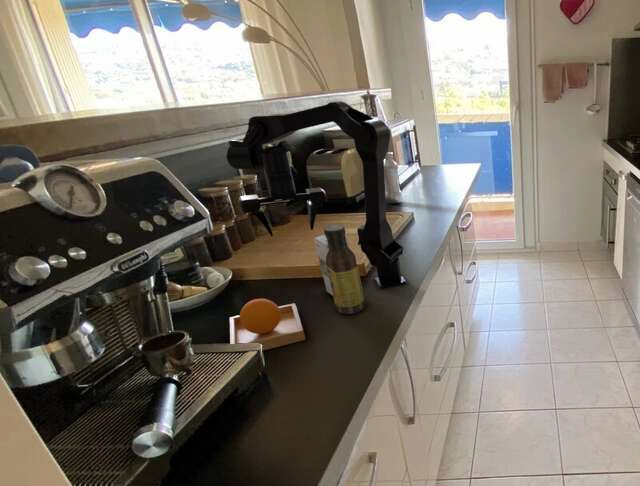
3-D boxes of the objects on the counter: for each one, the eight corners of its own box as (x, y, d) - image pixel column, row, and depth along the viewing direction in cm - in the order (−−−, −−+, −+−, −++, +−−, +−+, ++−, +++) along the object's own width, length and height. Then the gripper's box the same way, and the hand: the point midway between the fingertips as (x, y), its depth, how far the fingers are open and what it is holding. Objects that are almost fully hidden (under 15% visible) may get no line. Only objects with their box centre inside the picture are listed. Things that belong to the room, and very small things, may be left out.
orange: (288, 332, 92) (275, 305, 88) (249, 346, 89) (234, 318, 85) (283, 314, 97) (271, 287, 93) (246, 326, 94) (232, 299, 90)
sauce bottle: (342, 302, 106) (326, 221, 97) (369, 302, 106) (355, 222, 97) (331, 315, 100) (313, 231, 91) (359, 316, 100) (343, 231, 91)
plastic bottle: (400, 205, 181) (394, 154, 172) (383, 205, 181) (376, 154, 173) (404, 201, 187) (398, 151, 178) (388, 200, 187) (381, 151, 178)
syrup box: (358, 292, 111) (348, 236, 104) (335, 299, 107) (323, 243, 100) (348, 285, 114) (337, 231, 108) (325, 292, 110) (312, 237, 104)
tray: (305, 339, 91) (303, 330, 90) (233, 358, 85) (230, 348, 84) (297, 311, 101) (295, 303, 100) (232, 326, 95) (229, 317, 94)
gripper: (313, 161, 118) (325, 218, 124) (230, 168, 108) (248, 229, 115) (321, 169, 109) (333, 230, 116) (232, 177, 100) (251, 242, 107)
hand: (292, 232), depth 114 cm, fingers open, 9 cm apart
